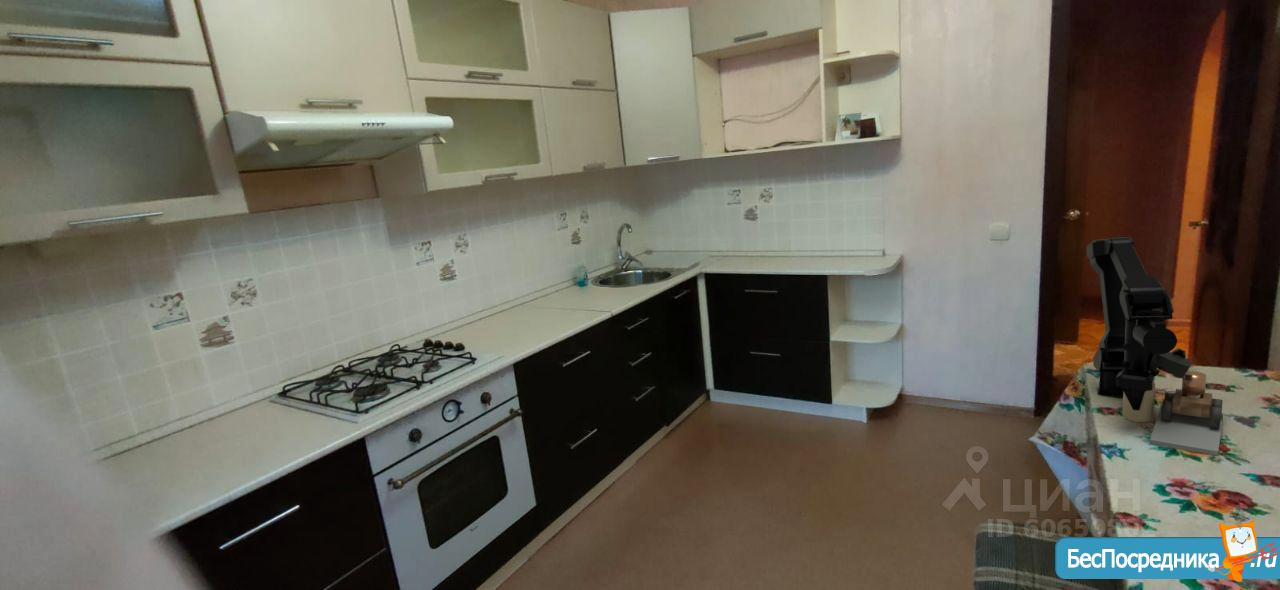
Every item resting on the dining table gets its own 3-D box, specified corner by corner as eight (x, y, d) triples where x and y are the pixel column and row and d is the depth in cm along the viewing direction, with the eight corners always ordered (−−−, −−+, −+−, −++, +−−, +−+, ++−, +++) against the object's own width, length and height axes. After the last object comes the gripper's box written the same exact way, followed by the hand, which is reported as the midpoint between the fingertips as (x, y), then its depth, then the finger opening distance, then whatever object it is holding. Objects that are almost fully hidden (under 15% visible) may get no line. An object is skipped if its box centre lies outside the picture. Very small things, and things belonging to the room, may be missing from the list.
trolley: (1160, 422, 137) (1161, 400, 136) (1165, 407, 143) (1166, 385, 142) (1219, 432, 130) (1220, 408, 129) (1221, 415, 137) (1223, 392, 135)
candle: (1147, 413, 144) (1149, 372, 142) (1157, 423, 139) (1159, 380, 137) (1118, 412, 146) (1120, 372, 144) (1127, 422, 141) (1129, 380, 138)
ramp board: (1149, 444, 131) (1150, 435, 130) (1160, 412, 143) (1160, 404, 143) (1217, 456, 123) (1218, 446, 123) (1222, 422, 136) (1223, 413, 135)
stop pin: (1179, 414, 137) (1181, 375, 136) (1181, 408, 140) (1183, 370, 138) (1202, 417, 135) (1205, 378, 133) (1204, 411, 137) (1206, 372, 135)
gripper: (1185, 357, 126) (1180, 428, 130) (1193, 331, 139) (1189, 397, 142) (1116, 350, 134) (1114, 417, 137) (1130, 327, 147) (1127, 389, 150)
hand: (1138, 405), depth 142 cm, fingers closed on candle, 5 cm apart
